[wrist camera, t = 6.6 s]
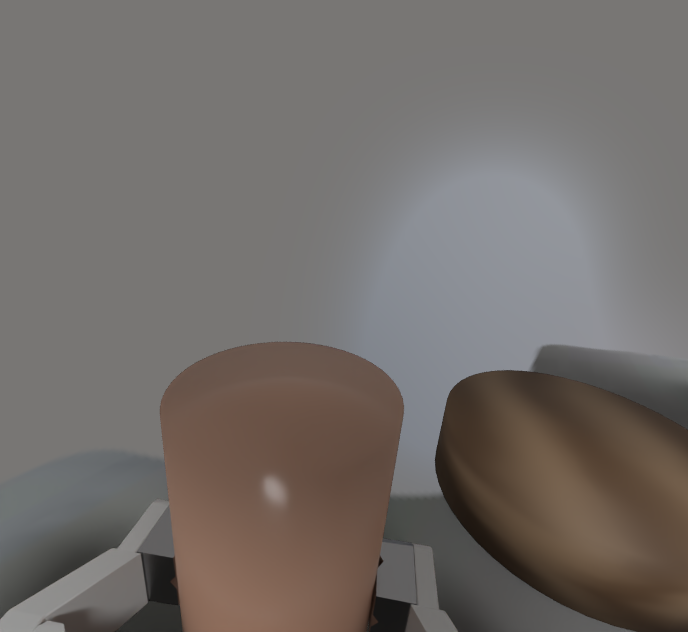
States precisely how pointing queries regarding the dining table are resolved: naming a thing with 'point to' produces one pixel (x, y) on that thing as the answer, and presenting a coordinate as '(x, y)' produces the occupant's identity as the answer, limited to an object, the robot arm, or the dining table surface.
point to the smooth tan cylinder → (279, 486)
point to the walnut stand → (572, 493)
